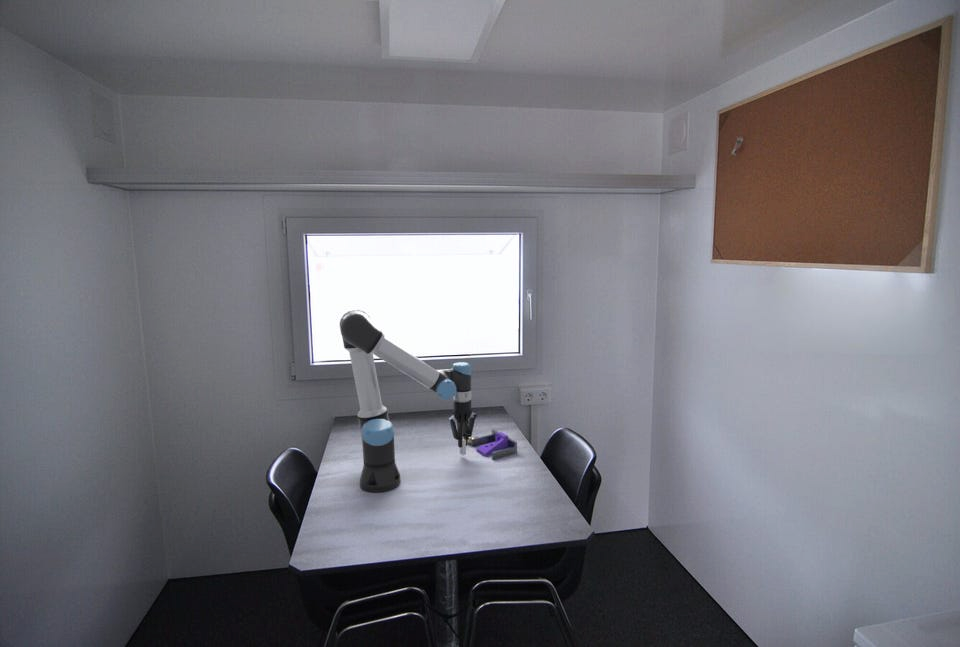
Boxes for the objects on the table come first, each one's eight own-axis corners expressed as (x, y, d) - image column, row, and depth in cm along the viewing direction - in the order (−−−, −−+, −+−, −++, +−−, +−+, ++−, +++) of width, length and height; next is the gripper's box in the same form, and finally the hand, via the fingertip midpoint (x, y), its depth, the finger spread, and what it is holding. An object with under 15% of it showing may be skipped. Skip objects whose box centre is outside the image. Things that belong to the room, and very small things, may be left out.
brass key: (471, 445, 229) (471, 438, 228) (466, 443, 231) (466, 436, 230) (479, 441, 233) (479, 434, 232) (474, 439, 235) (474, 432, 234)
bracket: (499, 445, 228) (499, 431, 227) (508, 450, 223) (508, 435, 222) (476, 451, 222) (476, 436, 221) (485, 457, 216) (484, 441, 215)
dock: (493, 459, 213) (493, 448, 212) (471, 445, 228) (470, 434, 227) (517, 453, 219) (517, 442, 218) (494, 439, 234) (493, 429, 233)
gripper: (452, 404, 205) (453, 460, 209) (480, 399, 212) (480, 453, 216) (444, 400, 212) (444, 454, 215) (471, 395, 218) (471, 447, 222)
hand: (462, 453), depth 215 cm, fingers closed
